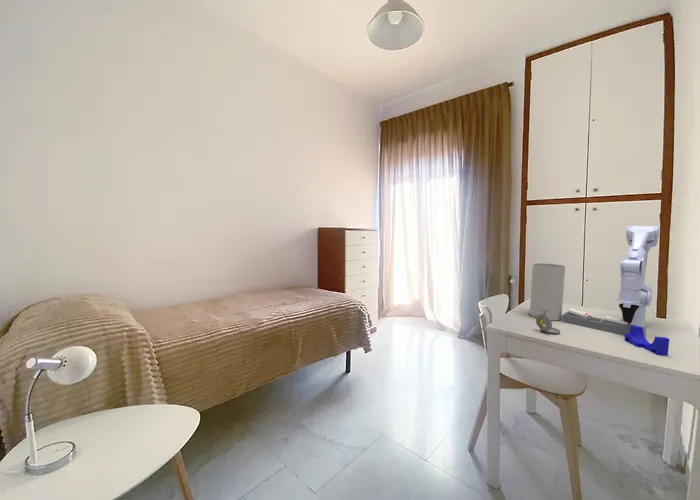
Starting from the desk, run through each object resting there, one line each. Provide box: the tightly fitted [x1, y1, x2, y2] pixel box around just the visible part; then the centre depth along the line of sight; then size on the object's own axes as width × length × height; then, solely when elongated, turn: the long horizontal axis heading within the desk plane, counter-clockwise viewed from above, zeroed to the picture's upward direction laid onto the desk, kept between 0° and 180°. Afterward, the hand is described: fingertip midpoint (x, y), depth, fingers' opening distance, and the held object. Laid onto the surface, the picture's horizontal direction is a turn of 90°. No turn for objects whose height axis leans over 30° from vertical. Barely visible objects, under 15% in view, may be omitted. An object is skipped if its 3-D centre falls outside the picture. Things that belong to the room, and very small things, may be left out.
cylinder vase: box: [529, 262, 566, 322], centre depth 134 cm, size 12×12×25 cm
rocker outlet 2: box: [603, 315, 628, 325], centre depth 117 cm, size 4×7×2 cm, turn 40°
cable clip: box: [623, 326, 670, 357], centre depth 101 cm, size 12×4×6 cm, turn 170°
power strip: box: [561, 311, 647, 337], centre depth 121 cm, size 8×26×4 cm, turn 40°
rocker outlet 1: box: [567, 307, 591, 318], centre depth 126 cm, size 4×7×2 cm, turn 40°
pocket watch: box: [535, 308, 561, 335], centre depth 115 cm, size 8×8×10 cm
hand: (627, 322), depth 114 cm, fingers closed, pressing on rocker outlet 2
